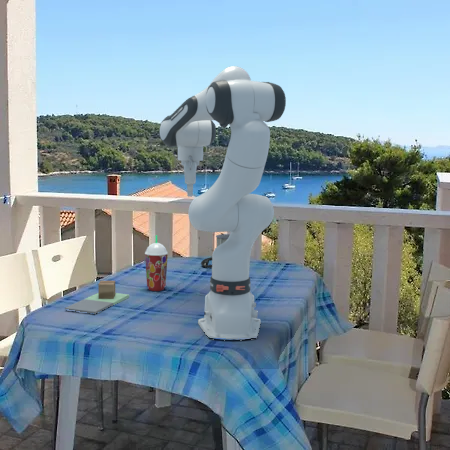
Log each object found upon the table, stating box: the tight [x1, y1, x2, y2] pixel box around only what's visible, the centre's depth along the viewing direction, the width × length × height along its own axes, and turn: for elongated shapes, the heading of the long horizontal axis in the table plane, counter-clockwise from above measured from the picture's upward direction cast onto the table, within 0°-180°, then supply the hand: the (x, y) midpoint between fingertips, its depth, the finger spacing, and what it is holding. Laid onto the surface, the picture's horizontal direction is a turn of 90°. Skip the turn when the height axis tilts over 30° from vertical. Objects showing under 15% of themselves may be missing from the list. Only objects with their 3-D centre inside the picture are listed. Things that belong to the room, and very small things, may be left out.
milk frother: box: [200, 233, 230, 269], centre depth 245 cm, size 14×16×15 cm
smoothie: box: [144, 234, 169, 292], centre depth 209 cm, size 8×8×20 cm
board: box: [64, 292, 130, 315], centre depth 190 cm, size 22×11×1 cm, turn 161°
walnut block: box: [97, 280, 116, 299], centre depth 195 cm, size 5×5×5 cm
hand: (189, 195), depth 202 cm, fingers open, 8 cm apart
